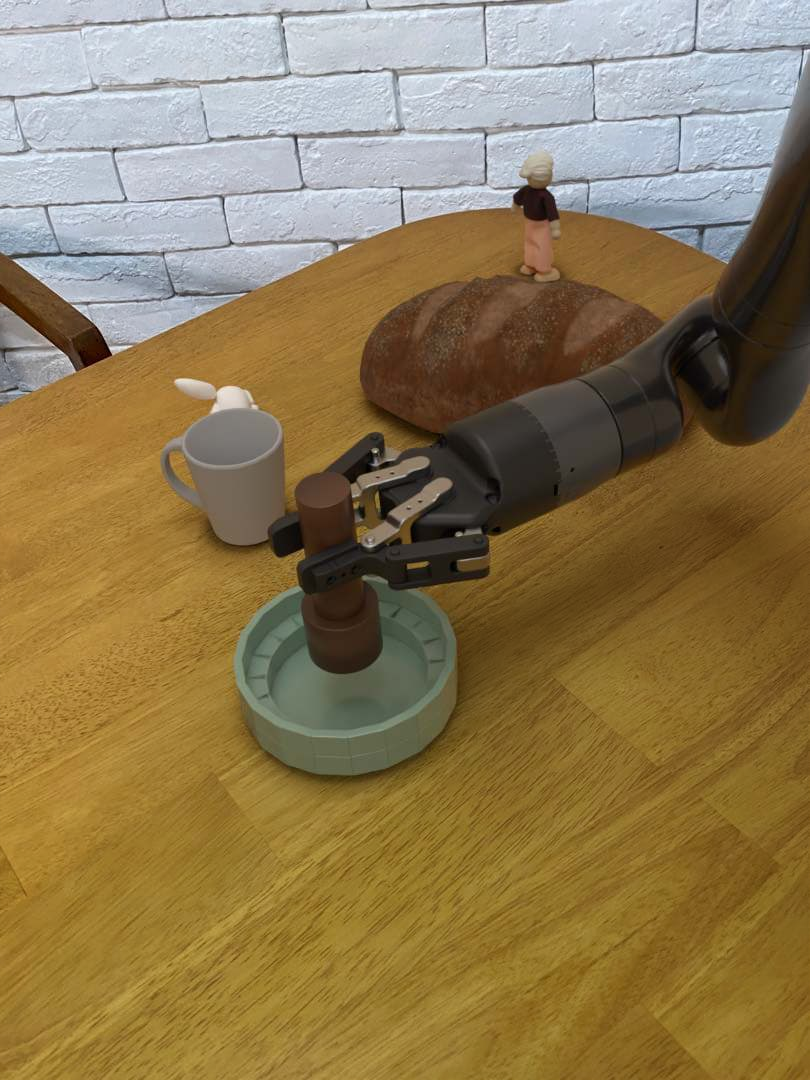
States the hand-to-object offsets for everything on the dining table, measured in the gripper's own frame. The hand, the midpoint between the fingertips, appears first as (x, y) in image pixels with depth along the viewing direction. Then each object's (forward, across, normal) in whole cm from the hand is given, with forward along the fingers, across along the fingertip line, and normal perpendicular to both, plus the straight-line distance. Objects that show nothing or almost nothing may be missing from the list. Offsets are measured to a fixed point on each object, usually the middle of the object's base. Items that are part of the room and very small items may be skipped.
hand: (287, 561), depth 65 cm
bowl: (-3, 0, +14) cm, 14 cm away
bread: (-32, -21, +14) cm, 40 cm away
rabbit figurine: (-8, -33, +14) cm, 37 cm away
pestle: (-3, 0, +9) cm, 9 cm away
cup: (-4, -21, +14) cm, 25 cm away
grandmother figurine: (-47, -40, +14) cm, 63 cm away
